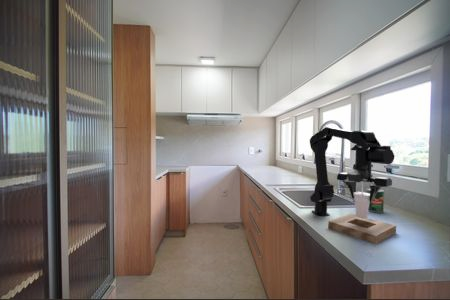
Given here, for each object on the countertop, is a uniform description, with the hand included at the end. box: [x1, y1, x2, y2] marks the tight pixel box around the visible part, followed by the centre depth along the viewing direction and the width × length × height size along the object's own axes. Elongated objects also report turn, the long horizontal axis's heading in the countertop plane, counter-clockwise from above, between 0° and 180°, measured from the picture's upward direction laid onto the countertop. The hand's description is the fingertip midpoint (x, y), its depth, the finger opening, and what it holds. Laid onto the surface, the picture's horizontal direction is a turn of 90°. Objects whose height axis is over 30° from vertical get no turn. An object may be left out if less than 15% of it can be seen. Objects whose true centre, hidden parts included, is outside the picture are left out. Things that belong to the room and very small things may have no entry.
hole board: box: [327, 213, 397, 245], centre depth 93 cm, size 18×18×3 cm
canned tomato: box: [366, 187, 385, 213], centre depth 121 cm, size 8×8×11 cm
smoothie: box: [353, 182, 370, 219], centre depth 93 cm, size 6×6×14 cm
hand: (362, 200), depth 93 cm, fingers closed on smoothie, 6 cm apart
